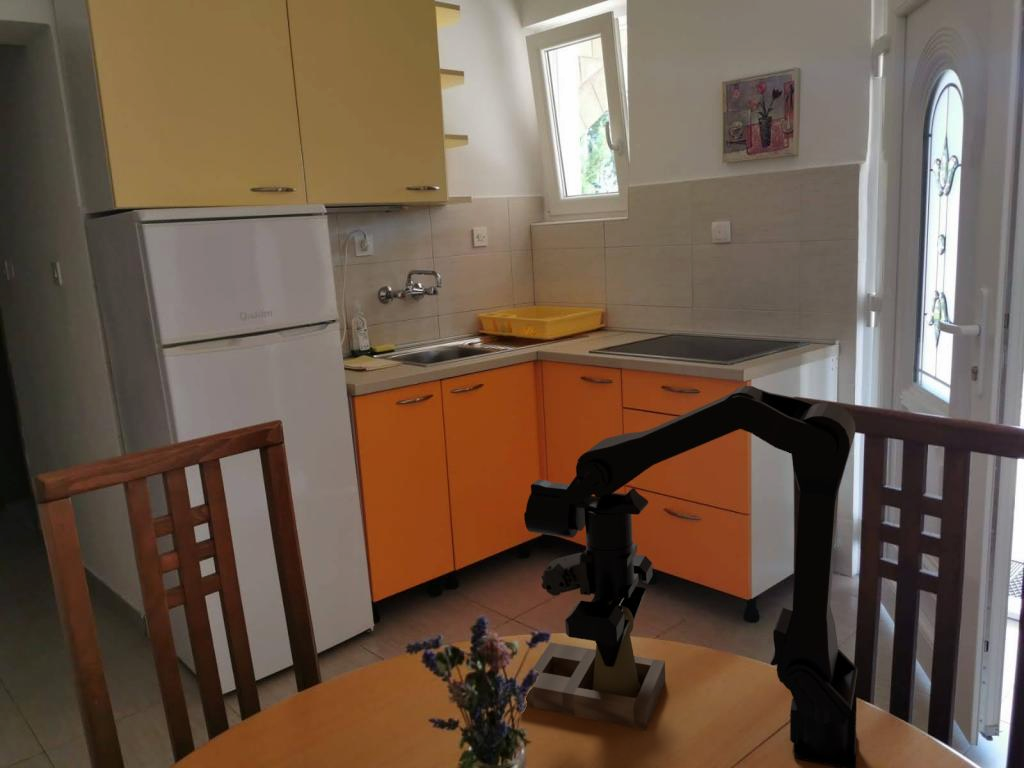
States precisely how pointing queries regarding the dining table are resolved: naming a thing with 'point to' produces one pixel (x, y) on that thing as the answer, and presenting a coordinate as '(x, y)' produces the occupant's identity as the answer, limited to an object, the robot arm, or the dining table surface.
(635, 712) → the hole block
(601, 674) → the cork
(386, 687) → the dining table surface
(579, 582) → the robot arm
